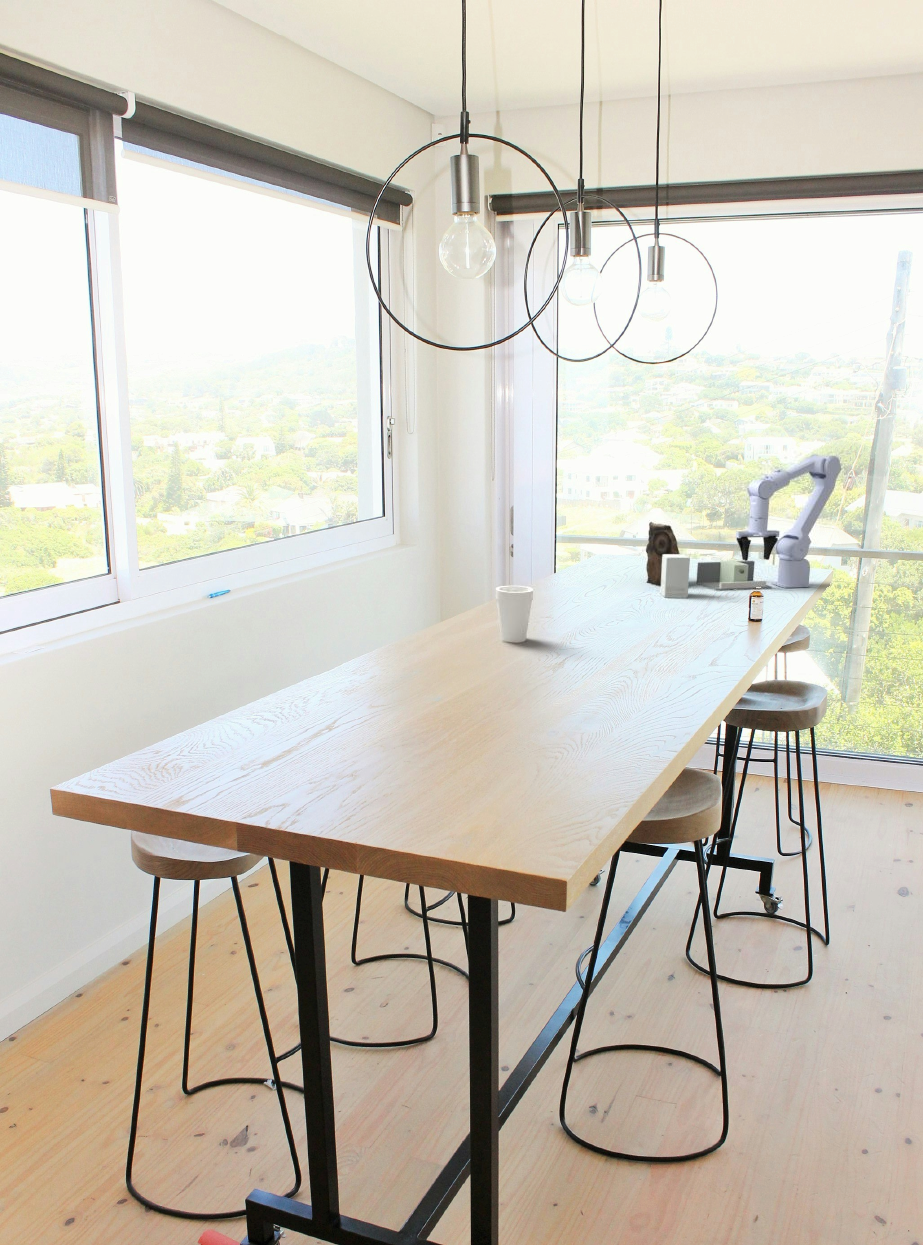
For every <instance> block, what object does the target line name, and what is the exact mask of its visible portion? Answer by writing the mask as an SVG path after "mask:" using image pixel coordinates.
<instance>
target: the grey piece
mask: <svg viewBox="0 0 923 1245" xmlns="http://www.w3.org/2000/svg"><path fill="white" fill-rule="evenodd" d="M736 561H737V562H741V563H744V564H747V565H748V579H747V581H746V582H720V566H721V561H705V562H703V561H702V562H701V561H700V562H697V569H696V584H697V583H699V584H701V585H700V586H702V585H703V586H702V587H705V586H706V587H705V588H707V587H708V589H710V588H711V589H710V590H713V589H714V590H713V591H715V590H720V591H731V590H730V589H744V590H753V589H752V588H756V587H761V588H763V589H772V586H770V585H768V584H767V581H766V580H754V578H755V577H754V576H755V575H754V574H755V573H754V572H755V563H756V562H755V560H747V561H745V560H736ZM699 584H698V585H699ZM763 589H762V590H763Z"/></svg>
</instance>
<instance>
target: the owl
mask: <svg viewBox="0 0 923 1245" xmlns="http://www.w3.org/2000/svg"><path fill="white" fill-rule="evenodd" d="M648 527H649V528H648V529H649V530H648V543H647V545H646V548H645V552H646V556H647V561H646V573H647V580H646V583H647V584H650V585H654V586H656V587H661V573H662V555H663V554H680V550H679V547H678V541H677V538H676V535H675V533H674V531H673V529H672V525H670V524H669V525H667V524H663V523H654V522H652V521H650V522H649V523H648Z"/></svg>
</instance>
